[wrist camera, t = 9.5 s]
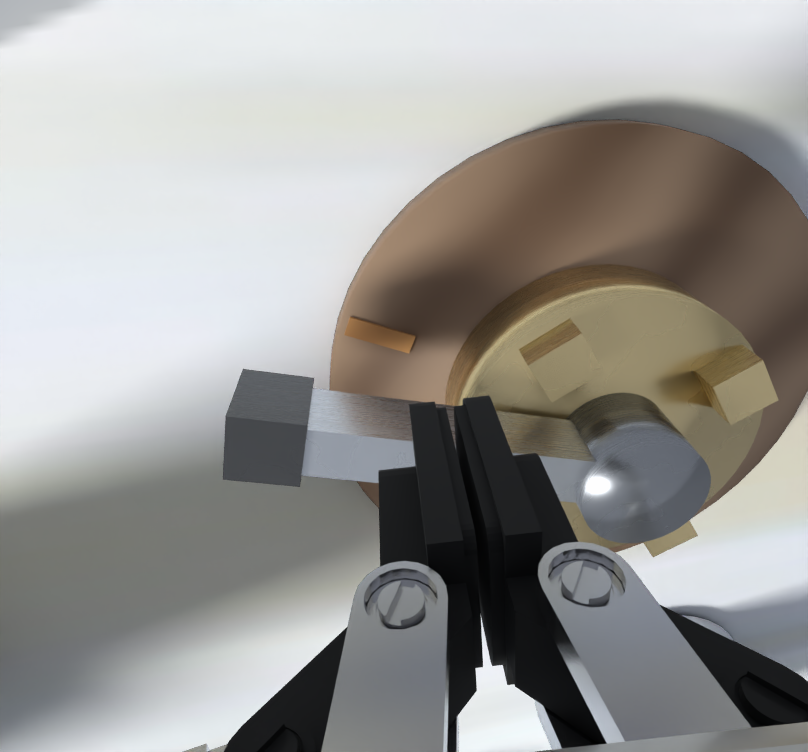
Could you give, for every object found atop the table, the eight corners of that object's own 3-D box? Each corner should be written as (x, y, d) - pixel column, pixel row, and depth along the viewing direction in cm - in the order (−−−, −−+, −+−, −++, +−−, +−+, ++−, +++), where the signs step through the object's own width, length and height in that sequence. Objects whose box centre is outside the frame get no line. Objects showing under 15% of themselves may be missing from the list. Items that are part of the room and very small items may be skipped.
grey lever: (765, 289, 23) (901, 366, 17) (649, 509, 29) (723, 622, 23) (267, 203, 20) (231, 262, 14) (248, 469, 25) (217, 588, 20)
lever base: (908, 256, 25) (941, 268, 23) (619, 582, 34) (630, 604, 32) (470, 3, 19) (480, -2, 17) (266, 479, 28) (261, 502, 27)
